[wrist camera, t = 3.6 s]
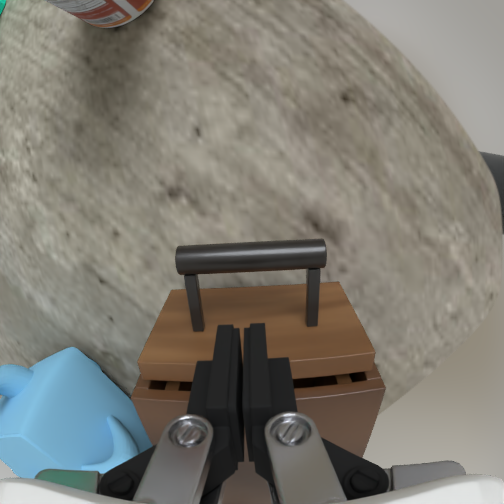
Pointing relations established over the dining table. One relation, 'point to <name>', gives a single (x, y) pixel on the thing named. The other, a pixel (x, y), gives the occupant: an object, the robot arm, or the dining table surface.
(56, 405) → the teapot
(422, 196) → the dining table surface
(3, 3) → the candle
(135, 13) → the pill bottle
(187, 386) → the drawer
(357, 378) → the cabinet
